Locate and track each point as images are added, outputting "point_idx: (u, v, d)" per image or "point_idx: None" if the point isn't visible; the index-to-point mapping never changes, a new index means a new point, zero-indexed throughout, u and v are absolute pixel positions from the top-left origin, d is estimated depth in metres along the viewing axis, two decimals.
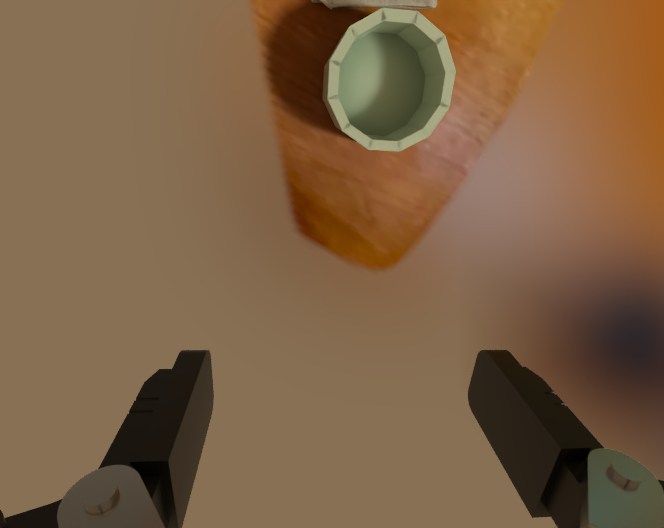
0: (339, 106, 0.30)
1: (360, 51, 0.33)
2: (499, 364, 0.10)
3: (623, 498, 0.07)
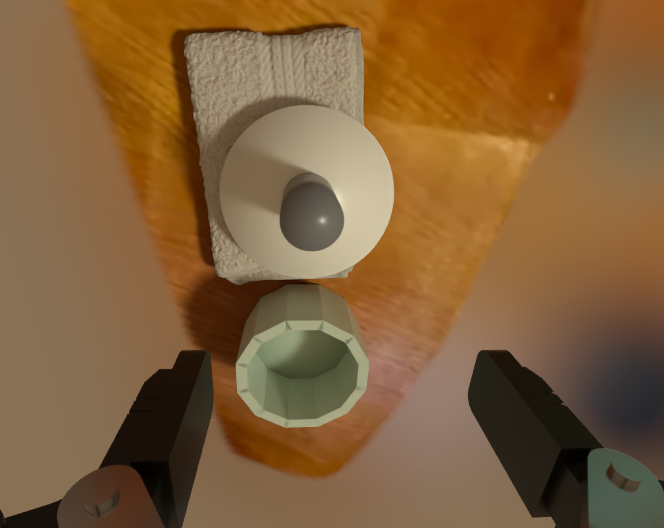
0: (250, 397, 0.29)
1: None
2: (499, 364, 0.10)
3: (623, 498, 0.07)
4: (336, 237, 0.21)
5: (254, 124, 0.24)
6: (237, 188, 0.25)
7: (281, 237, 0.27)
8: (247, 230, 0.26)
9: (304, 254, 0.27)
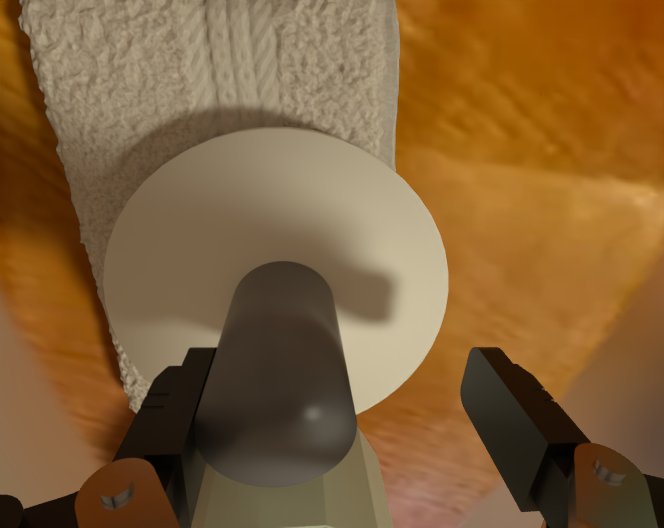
0: None
1: None
2: (490, 361, 0.10)
3: (607, 491, 0.07)
4: (337, 460, 0.09)
5: (163, 169, 0.11)
6: (140, 291, 0.13)
7: None
8: (167, 362, 0.14)
9: None
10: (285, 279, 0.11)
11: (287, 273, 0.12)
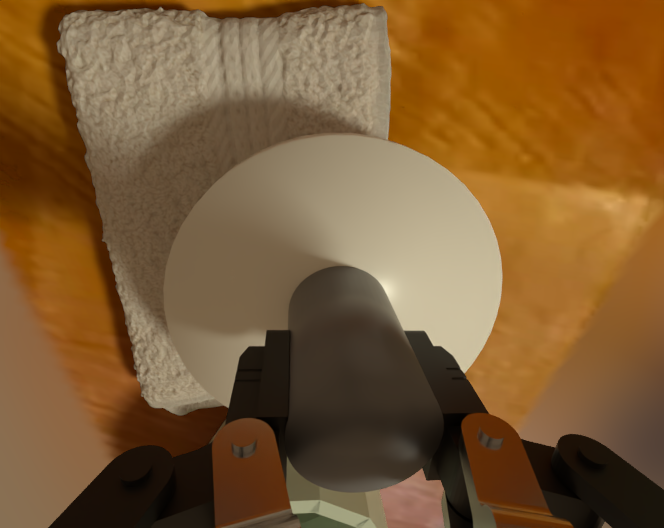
0: None
1: None
2: (411, 342, 0.11)
3: (481, 453, 0.07)
4: (420, 465, 0.09)
5: (231, 175, 0.11)
6: (199, 296, 0.13)
7: None
8: (221, 366, 0.14)
9: None
10: (350, 284, 0.11)
11: (350, 278, 0.12)
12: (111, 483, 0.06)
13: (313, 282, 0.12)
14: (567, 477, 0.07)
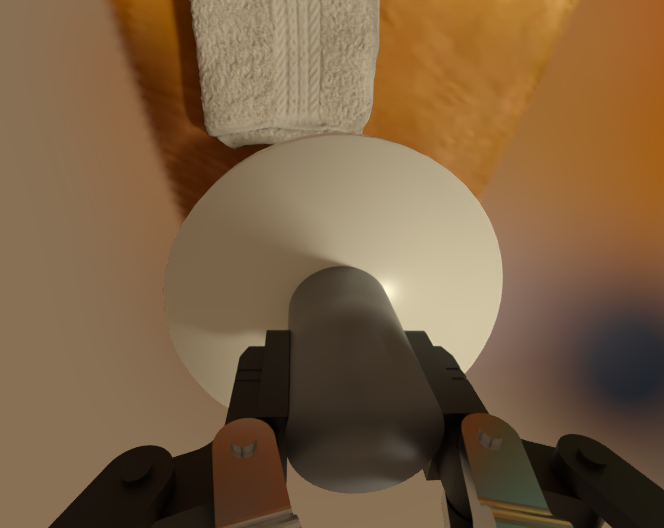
0: None
1: None
2: (411, 342, 0.11)
3: (481, 453, 0.07)
4: (420, 466, 0.09)
5: (231, 175, 0.11)
6: (199, 296, 0.13)
7: None
8: (221, 366, 0.14)
9: None
10: (350, 284, 0.11)
11: (350, 278, 0.12)
12: (111, 483, 0.06)
13: (313, 282, 0.12)
14: (567, 477, 0.07)
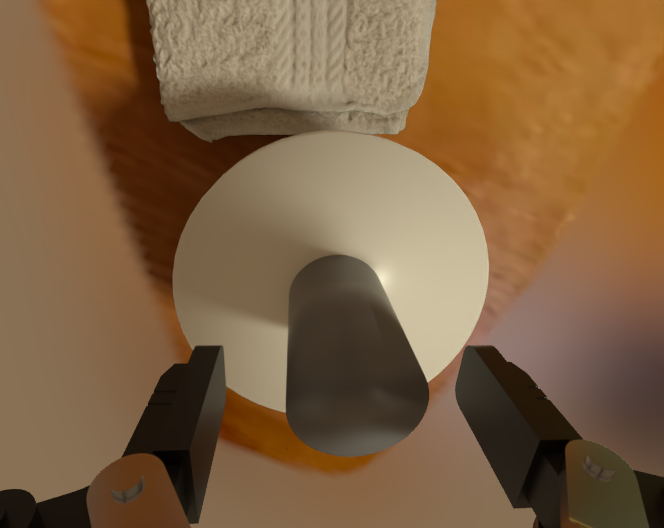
0: None
1: None
2: (484, 359, 0.10)
3: (597, 487, 0.07)
4: (408, 431, 0.10)
5: (236, 169, 0.12)
6: (205, 282, 0.14)
7: (286, 358, 0.15)
8: (225, 349, 0.15)
9: None
10: (346, 270, 0.12)
11: (345, 265, 0.13)
12: None
13: (312, 269, 0.13)
14: None
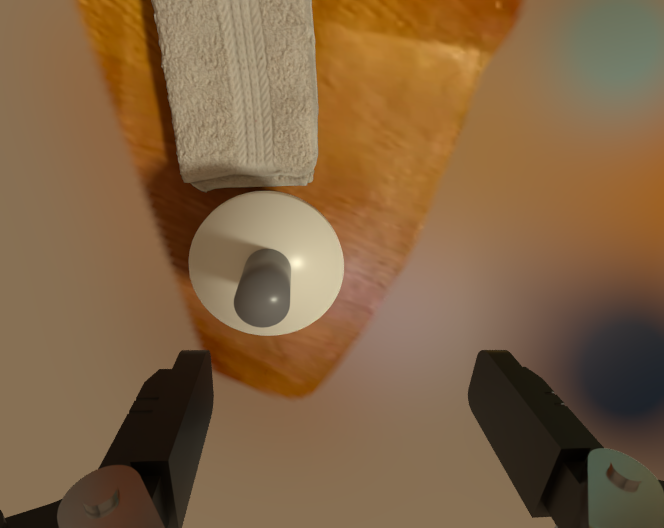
0: None
1: None
2: (499, 364, 0.10)
3: (623, 498, 0.07)
4: (284, 315, 0.25)
5: (216, 210, 0.27)
6: (204, 263, 0.29)
7: None
8: (214, 297, 0.30)
9: None
10: (267, 255, 0.27)
11: (268, 253, 0.28)
12: None
13: (253, 255, 0.28)
14: None
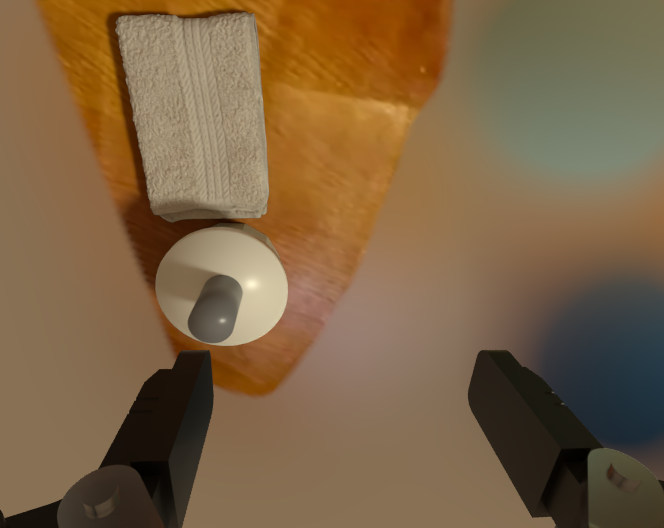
0: None
1: None
2: (499, 364, 0.10)
3: (623, 498, 0.07)
4: (229, 334, 0.30)
5: (178, 244, 0.33)
6: (168, 286, 0.34)
7: None
8: (178, 313, 0.35)
9: None
10: (220, 281, 0.33)
11: (221, 279, 0.33)
12: None
13: (209, 281, 0.34)
14: None
